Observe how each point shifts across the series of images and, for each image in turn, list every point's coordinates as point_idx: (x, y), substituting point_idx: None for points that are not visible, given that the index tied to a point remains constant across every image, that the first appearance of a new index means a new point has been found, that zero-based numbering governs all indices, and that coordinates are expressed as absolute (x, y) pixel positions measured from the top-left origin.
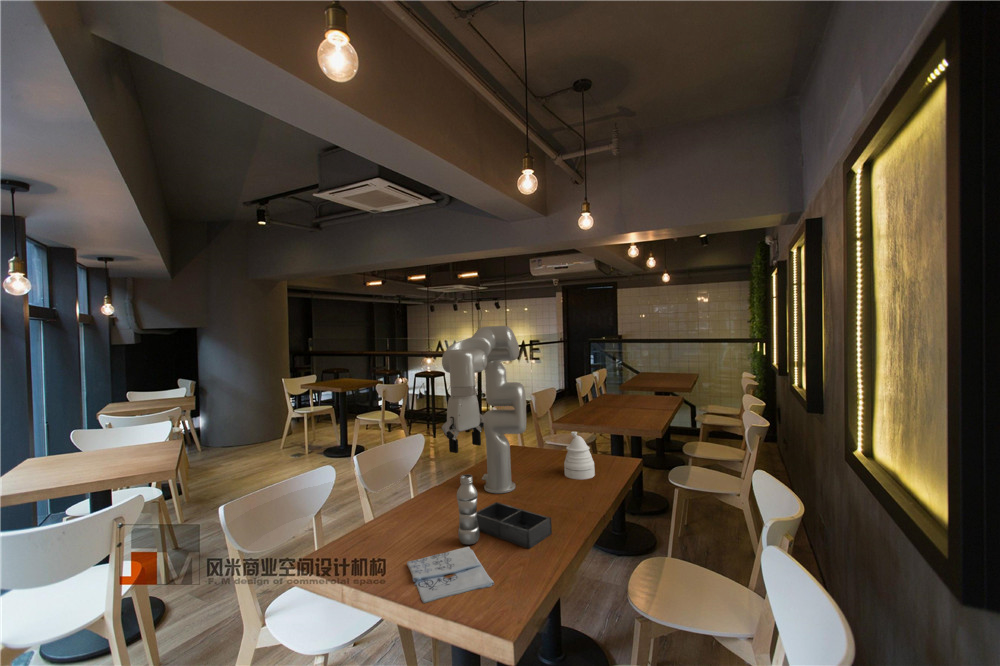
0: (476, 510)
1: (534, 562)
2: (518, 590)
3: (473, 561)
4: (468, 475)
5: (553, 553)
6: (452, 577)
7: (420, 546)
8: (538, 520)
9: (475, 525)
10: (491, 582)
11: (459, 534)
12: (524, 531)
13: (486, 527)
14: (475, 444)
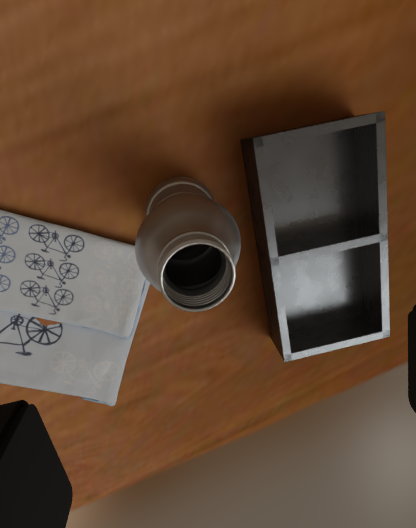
0: (208, 253)
1: (237, 384)
2: (143, 438)
3: (118, 323)
4: (226, 255)
5: (293, 381)
6: (51, 328)
7: (40, 119)
8: (372, 295)
9: (190, 248)
10: (108, 404)
11: (145, 211)
12: (281, 348)
13: (254, 201)
14: (410, 359)
